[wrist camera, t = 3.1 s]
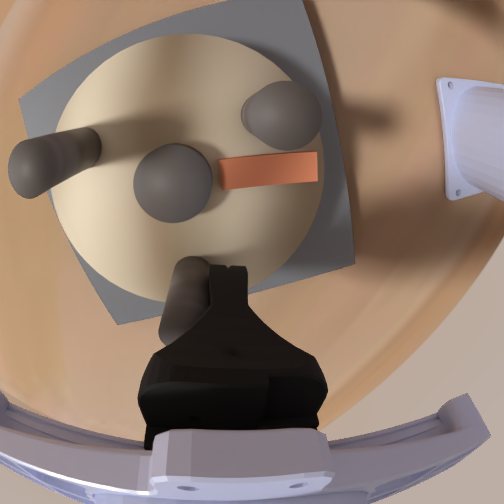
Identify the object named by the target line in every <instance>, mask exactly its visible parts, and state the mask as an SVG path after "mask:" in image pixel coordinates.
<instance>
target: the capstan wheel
mask: <svg viewBox="0 0 504 504" xmlns="http://www.w3.org/2000/svg"><path fill="white" fill-rule="evenodd" d="M321 124H322V109H321V106H320V103H319V101H318V99H317V97H316V96H315V95H314V93H313V92H312V91H311V90H309V89H308V88H307V87H305V86H304V85H302V84H299V83H297V82H293V81H292V80H291V79H290V78H289V77H288V76H287V75H286V74H285V73H284V72H283V71H282V70H281V69H280V68H279V67H278V66H276V65H275V64H274V63H273V62H272V61H270V60H269V59H267V58H266V57H264V56H263V55H261V54H260V53H258V52H257V51H255V50H253V49H250V48H248V47H246V46H244V45H242V44H240V43H237V42H234V41H231V40H228V39H224V38H221V37H216V36H210V35H203V34H174V35H167V36H161V37H156V38H153V39H149V40H146V41H143V42H140V43H137V44H135V45H133V46H131V47H128V48H126V49H124V50H122V51H120V52H119V53H117V54H115V55H114V56H112V57H111V58H109V59H108V60H106V61H105V62H103V63H102V64H101V65H100V66H99V67H98V68H96V69H95V70H94V71H93V72H92V73H91V74H90V75H89V76H88V77H87V78H86V79H85V80H84V81H83V83H82V84H81V85H80V86H79V87H78V89H77V90H76V91H75V93H74V94H73V96H72V97H71V99H70V100H69V102H68V104H67V105H66V107H65V109H64V111H63V114H62V116H61V118H60V120H59V122H58V125H57V129H56V132H55V133H52V134H47V135H43V136H39V137H35V138H31V139H28V140H24V141H22V142H20V143H19V144H17V145H16V146H15V148H14V149H13V151H12V153H11V155H10V158H9V163H8V174H9V179H10V182H11V184H12V186H13V188H14V190H15V191H16V192H17V193H18V194H19V195H20V196H22V197H24V198H27V199H32V198H35V197H37V196H39V195H41V194H42V193H44V192H46V191H47V190H49V189H51V193H52V197H53V202H54V206H55V209H56V212H57V215H58V218H59V221H60V223H61V225H62V227H63V229H64V231H65V233H66V235H67V237H68V238H69V240H70V241H71V243H72V245H73V246H74V248H75V249H76V250H77V252H78V253H79V254H80V255H81V256H82V257H83V259H84V260H85V261H86V262H87V263H88V264H89V265H90V266H91V267H92V268H93V269H94V270H96V271H97V272H98V273H99V274H100V275H102V276H103V277H105V278H106V279H107V280H109V281H110V282H112V283H113V284H115V285H117V286H119V287H120V288H122V289H124V290H126V291H129V292H131V293H133V294H136V295H138V296H141V297H145V298H148V299H151V300H156V301H161V302H165V306H164V310H163V314H162V318H161V322H160V326H159V337H160V339H161V341H162V342H163V343H164V344H165V345H166V346H167V345H169V344H171V343H172V342H173V341H175V340H176V339H177V338H179V337H180V336H181V335H182V334H183V333H185V332H186V331H187V330H188V329H189V328H190V327H192V326H193V325H194V324H195V323H196V321H197V320H198V319H199V318H200V317H201V316H202V315H203V314H204V313H205V311H206V310H207V309H208V308H209V306H210V304H209V271H210V264H216V265H226V267H227V268H228V267H230V266H231V265H235V266H246V268H247V271H248V289H249V288H251V287H253V286H255V285H257V284H258V283H260V282H262V281H263V280H265V279H266V278H267V277H269V276H270V275H272V274H273V273H274V272H275V271H276V270H278V269H279V268H280V267H281V266H282V265H283V264H284V263H285V262H286V261H287V260H288V259H289V258H290V257H291V255H292V254H293V253H294V252H295V251H296V250H297V248H298V247H299V245H300V244H301V242H302V241H303V239H304V238H305V236H306V235H307V233H308V231H309V229H310V227H311V225H312V223H313V220H314V218H315V216H316V213H317V210H318V206H319V203H320V200H321V195H322V189H323V184H324V154H323V145H322V141H321V137H320V132H319V130H320V128H321Z"/></svg>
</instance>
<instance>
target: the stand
mask: <svg viewBox="0 0 504 504" xmlns="http://www.w3.org/2000/svg"><path fill="white" fill-rule="evenodd" d="M174 34H203V35H210V36H216V37H221V38H224V39H228V40H231V41H234V42H237V43H240V44H242V45H244V46H246V47H248V48H250V49H253V50H255V51H257V52H258V53H260V54H261V55H263V56H264V57H266V58H267V59H269V60H270V61H272V62H273V63H274V64H275V65H276V66H278V67H279V68H280V69H281V70H282V71H283V72H284V73H285V74H286V75H287V76H288V77H289V78H290V79H291V80H292V81H293V82H297V83H299V84H302V85H304V86H305V87H307V88H308V89H309V90H311V91H312V92H313V93H314V95H315V96H316V97H317V99H318V101H319V103H320V106H321V109H322V124H321V128H320V130H319V132H320V137H321V141H322V145H323V154H324V184H323V189H322V195H321V200H320V203H319V206H318V210H317V213H316V216H315V218H314V220H313V223H312V225H311V227H310V229H309V231H308V233H307V235H306V236H305V238H304V239H303V241H302V242H301V244H300V245H299V247H298V248H297V250H296V251H295V252H294V253H293V254H292V255H291V257H290V258H289V259H288V260H287V261H286V262H285V263H284V264H283V265H282V266H281V267H280V268H279V269H278V270H276V271H275V272H274V273H273V274H272V275H270V276H269V277H267V278H266V279H265V280H263V281H262V282H260V283H258V284H257V285H255V286H253V287H251V288H249V289H248V294H251V293H255V292H259V291H263V290H266V289H270V288H274V287H277V286H281V285H285V284H288V283H292V282H295V281H299V280H303V279H306V278H310V277H313V276H316V275H320V274H323V273H327V272H330V271H333V270H337V269H340V268H343V267H347V266H350V265H353V264H355V253H354V241H353V230H352V221H351V212H350V203H349V196H348V188H347V181H346V174H345V168H344V162H343V156H342V150H341V144H340V139H339V134H338V129H337V124H336V119H335V114H334V109H333V105H332V101H331V96H330V92H329V88H328V84H327V80H326V76H325V72H324V68H323V65H322V61H321V57H320V54H319V50H318V47H317V44H316V40H315V37H314V34H313V31H312V28H311V25H310V22H309V19H308V16H307V13H306V10H305V7H304V4H303V1H302V0H229V1H225V2H220V3H216V4H212V5H208V6H204V7H200V8H196V9H193V10H189V11H186V12H183V13H179V14H176V15H173V16H170V17H167V18H164V19H162V20H159V21H156V22H153V23H151V24H148V25H146V26H143V27H141V28H138V29H136V30H134V31H131V32H129V33H127V34H124V35H122V36H120V37H118V38H116V39H114V40H112V41H110V42H108V43H106V44H104V45H102V46H100V47H98V48H96V49H94V50H92V51H90V52H89V53H87V54H85V55H83V56H81V57H80V58H78V59H76V60H75V61H73V62H71V63H70V64H68V65H66V66H65V67H63V68H62V69H60V70H59V71H57V72H56V73H54V74H53V75H51V76H50V77H48V78H47V79H45V80H44V81H42V82H41V83H40V84H38V85H37V86H36V87H34V88H33V89H32V90H30V91H29V92H28V93H26V94H25V95H24V96H23V97H21V98H20V99H19V103H20V107H21V111H22V115H23V119H24V123H25V127H26V131H27V134H28V138H29V139H31V138H35V137H39V136H43V135H47V134H52V133H55V132H56V129H57V125H58V122H59V120H60V118H61V116H62V114H63V111H64V109H65V107H66V105H67V104H68V102H69V100H70V99H71V97H72V96H73V94H74V93H75V91H76V90H77V89H78V87H79V86H80V85H81V84H82V83H83V81H84V80H85V79H86V78H87V77H88V76H89V75H90V74H91V73H92V72H93V71H94V70H95V69H96V68H98V67H99V66H100V65H101V64H102V63H103V62H105V61H106V60H108V59H109V58H111V57H112V56H114V55H115V54H117V53H119V52H120V51H122V50H124V49H126V48H128V47H131V46H133V45H135V44H137V43H140V42H143V41H146V40H149V39H153V38H156V37H161V36H167V35H174ZM47 193H48V196H49V198H50V200H51V203H52V205H53V208H54V210H55V212H56V209H55V206H54V202H53V197H52V193H51V189H49V190H47ZM56 215H57V212H56ZM57 217H58V215H57ZM58 219H59V218H58ZM61 226H62V225H61ZM62 228H63V227H62ZM63 230H64V229H63ZM64 232H65V231H64ZM65 234H66V233H65ZM66 236H67V235H66ZM67 238H68V237H67ZM68 240H69V238H68ZM69 242H70V244H71V246H72V248H73V250H74V252H75V254H76V256H77V258H78V260H79V262H80V264H81V266H82V267H83V269H84V271H85V273H86V275H87V277H88V278H89V280H90V282H91V284H92V285H93V287H94V289H95V290H96V292H97V294H98V295H99V297H100V299H101V300H102V302H103V304H104V305H105V307H106V308H107V310H108V312H109V313H110V315H111V316H112V318H113V319H114V321H115V322H116V324H117V325H120V324H125V323H130V322H135V321H139V320H144V319H148V318H153V317H157V316H162V314H163V310H164V306H165V302H161V301H156V300H151V299H148V298H145V297H141V296H138V295H136V294H133V293H131V292H129V291H126V290H124V289H122V288H120V287H119V286H117V285H115V284H113V283H112V282H110V281H109V280H107V279H106V278H105V277H103V276H102V275H100V274H99V273H98V272H97V271H96V270H94V269H93V268H92V267H91V266H90V265H89V264H88V263H87V262H86V261H85V260H84V259H83V257H82V256H81V255H80V254H79V253H78V252H77V250H76V249H75V248H74V246H73V245H72V243H71V241H70V240H69Z"/></svg>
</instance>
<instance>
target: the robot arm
mask: <svg viewBox="0 0 504 504" xmlns="http://www.w3.org/2000/svg"><path fill="white" fill-rule="evenodd" d="M448 83H449V87H448ZM436 86H437V92H438V98H439V104H440V111H441V119H442V128H443V139H444V152H445V179H446V197H447V199H449V200H451V201H454V200H458V199H461V198H465V197H468V196H472V195H475V194H479V193H482V192H486V193H488V194H490V195H491V196H493V197H495V198H497V199H499V200H501V201H503V202H504V85H503V84H498V83H491V82H485V81H477V80H469V79H458V78H445V77H440V78H438V79H437V81H436ZM456 191H457V193H456ZM209 304H210V306H209V308H208V309H207V310H206V311H205V313H204V314H203V315H202V316H201V317H200V318H199V319H198V320H197V321H196V323H195V324H194V325H193V326H192V327H190V328H189V329H188V330H187V331H186V332H185V333H183V334H182V335H181V336H180V337H179V338H177V339H176V340H175V341H173V342H172V343H171V344H169V345H167V346H166V347H164V348H163V349H161V350H159V351H158V352H156V353H154V354H153V356H152V357H151V359H150V361H149V363H148V365H147V367H146V370H145V372H144V375H143V377H142V380H141V384H140V388H139V393H138V405H139V407H140V410H141V412H142V415H143V417H144V420H145V422H146V425H147V426H146V433H145V440H144V442H142V441H136V440H130V439H125V438H120V437H115V436H110V435H106V434H101V433H97V432H93V431H89V430H85V429H82V428H78V427H75V426H71V425H68V424H65V423H62V422H59V421H56V420H52V419H50V418H47V417H44V416H41V415H39V414H36V413H33V412H31V411H28V410H26V409H23V408H21V407H18V406H16V405H14V404H12V403H10V402H9V401H8V399H7V398H6V397H5V395H4V394H3V393H2V392H1V391H0V463H1V464H2V465H4V466H6V467H7V468H9V469H11V470H13V471H14V472H16V473H18V474H20V475H22V476H24V477H25V478H28V479H29V480H31V481H33V482H35V483H37V484H39V485H41V486H44V487H46V488H48V489H50V490H52V491H54V492H57V493H59V494H61V495H64V496H66V497H69V498H71V499H74V500H77V501H79V502H82V503H85V504H370V503H373V502H376V501H379V500H381V499H384V498H387V497H389V496H392V495H394V494H397V493H399V492H401V491H404V490H406V489H408V488H410V487H412V486H415V485H417V484H419V483H421V482H423V481H425V480H427V479H429V478H431V477H433V476H435V475H437V474H439V473H441V472H443V471H445V470H447V469H448V468H450V467H452V466H454V465H455V464H457V463H458V462H460V461H461V460H462V459H464V458H465V457H466V456H468V455H469V454H470V453H471V452H473V451H474V450H475V449H477V448H478V447H479V446H480V445H482V444H483V443H484V442H485V441H486V440H487V439H489V438H490V436H491V434H490V432H489V430H488V429H487V427H486V425H485V423H484V421H483V419H482V417H481V416H480V414H479V412H478V410H477V409H476V407H475V405H474V403H473V402H472V400H471V398H470V396H469V395H468V394H467V393H466V394H463V395H461V396H458V397H456V398H453V399H451V400H449V401H448V402H446V403H445V404H444V405H443V406H442V407H441V408H440V409H439V410H438V412H437V413H435V414H432V415H430V416H427V417H424V418H421V419H418V420H415V421H412V422H409V423H405V424H402V425H399V426H395V427H392V428H388V429H384V430H380V431H376V432H373V433H368V434H364V435H360V436H355V437H350V438H344V439H339V440H333V441H327V437H326V434H323V433H321V432H319V431H317V427H318V426H319V420H318V416H317V413H318V411H319V409H320V407H321V406H322V404H323V402H324V400H325V398H326V396H327V393H328V387H327V383H326V380H325V377H324V374H323V372H322V370H321V368H320V366H319V364H318V362H317V360H316V358H315V357H314V356H312V355H310V354H308V353H306V352H305V351H303V350H301V349H299V348H297V347H295V346H294V345H292V344H291V343H289V342H288V341H286V340H285V339H283V338H282V337H280V336H279V335H278V334H277V333H275V332H274V331H273V330H272V329H271V328H269V327H268V326H267V325H266V324H265V323H264V322H263V321H262V320H261V319H260V318H259V317H258V316H257V315H256V314H255V313H254V312H253V310H252V309H251V308H250V307H249V305H248V271H247V268H246V266H235V265H231V266H230V267H228V268H227V267H226V265H216V264H210V271H209Z"/></svg>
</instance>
